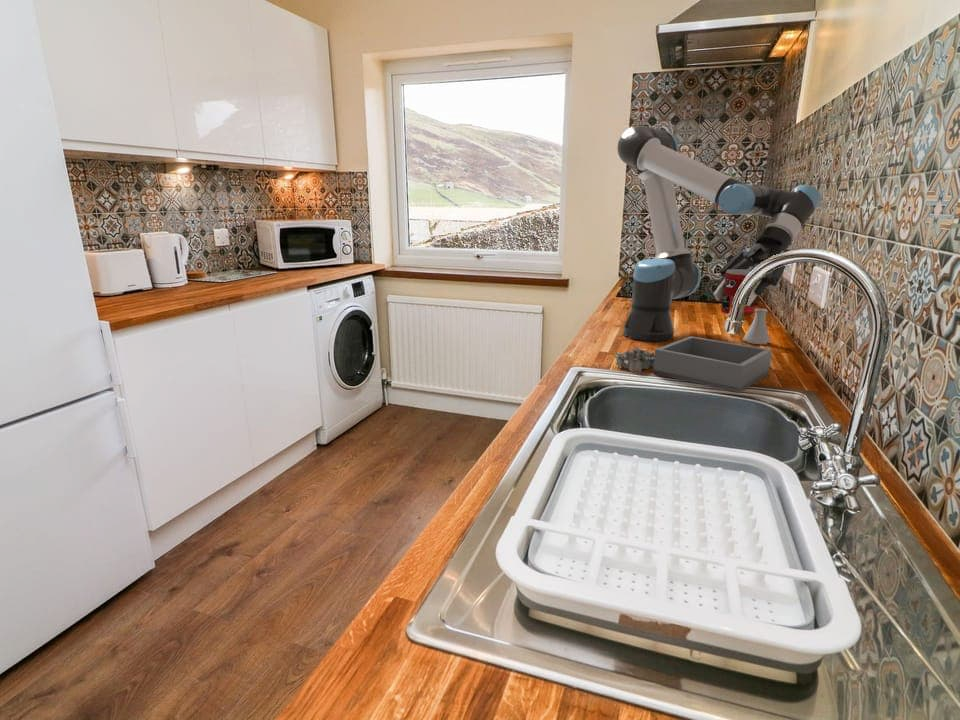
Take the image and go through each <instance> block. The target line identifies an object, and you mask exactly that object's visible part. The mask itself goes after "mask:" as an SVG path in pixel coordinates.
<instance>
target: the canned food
mask: <svg viewBox="0 0 960 720" xmlns="http://www.w3.org/2000/svg"><path fill="white" fill-rule="evenodd" d="M750 270H751V269H746V270H744V269H728V270H727V271H726V276H725V283H724V290H723V296H722V298H721V304H720V305H721V306H720V309H721V312H722V313H723V314H727V315H729V314H728V313H729V311H730V307H731V304H732V300H733V297H734V295H735V293H736V290H737V289H738V287H739V285H740V284H741V282H742V281H743V279H744V278H745V276H746V275H747V274H748V273H749V272H750ZM756 301H757V297H756V298H755V299H754V301H753V302H752V303H751V305H750V306H746V307H745V311H744V316H747V317H749V316H752V315H753V314H754V313H755V312H754V311H755V309H756V308H755V307H756V306H755V305H756Z"/></svg>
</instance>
